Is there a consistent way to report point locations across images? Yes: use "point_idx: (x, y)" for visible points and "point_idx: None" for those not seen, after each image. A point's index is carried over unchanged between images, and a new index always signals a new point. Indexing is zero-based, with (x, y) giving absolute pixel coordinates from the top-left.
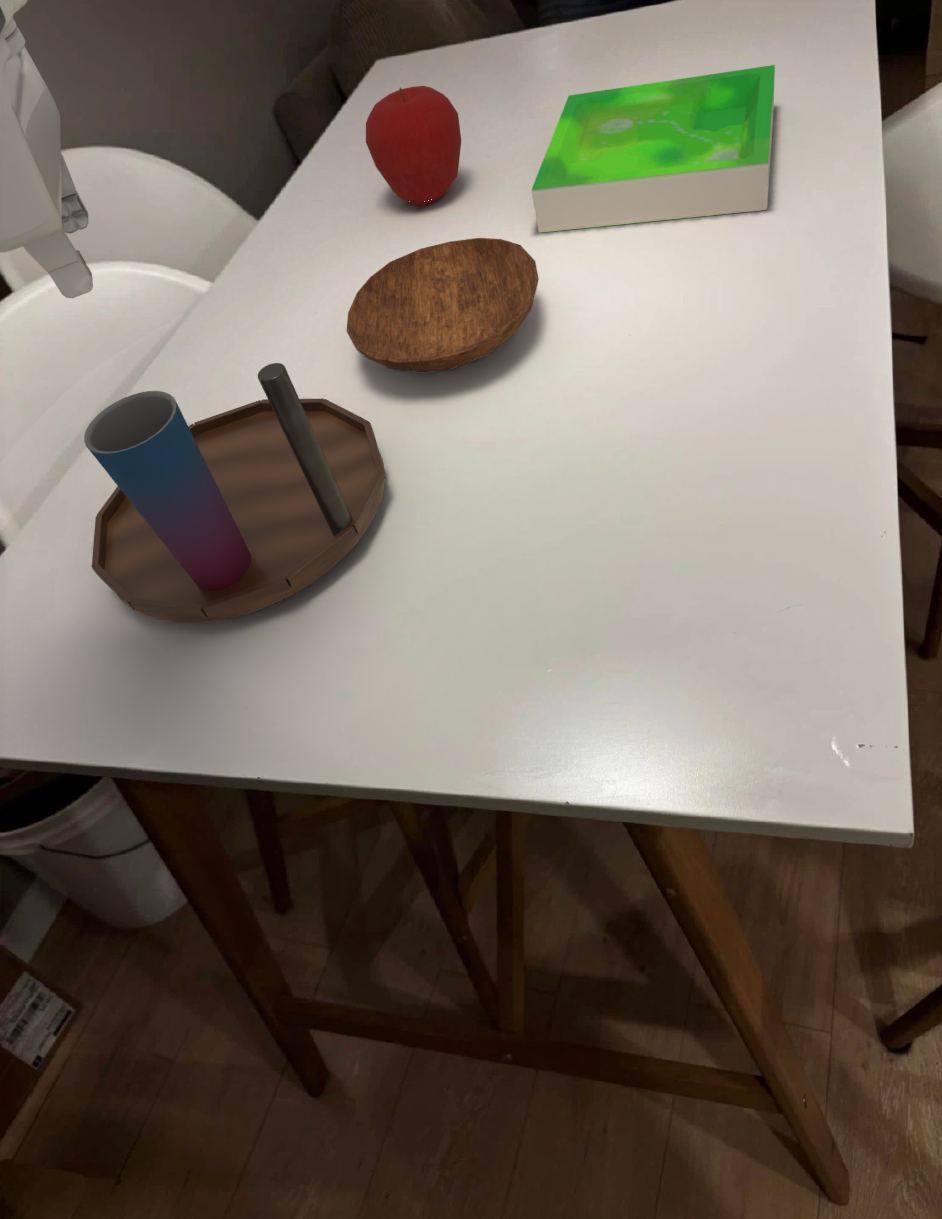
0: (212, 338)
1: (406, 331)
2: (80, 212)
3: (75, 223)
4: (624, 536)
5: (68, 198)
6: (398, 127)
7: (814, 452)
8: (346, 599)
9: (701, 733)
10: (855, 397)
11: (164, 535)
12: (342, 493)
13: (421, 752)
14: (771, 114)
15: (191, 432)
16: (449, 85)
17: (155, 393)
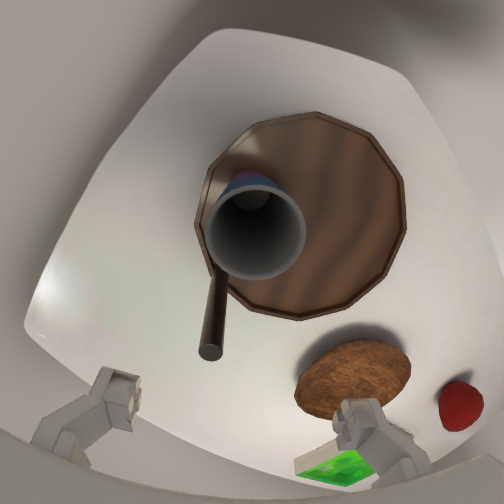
0: (478, 265)
1: (372, 356)
2: (339, 432)
3: (341, 415)
4: (147, 354)
5: (354, 444)
6: (461, 414)
7: (152, 409)
8: (189, 241)
9: (54, 315)
10: (170, 428)
11: (232, 180)
12: (256, 281)
13: (79, 231)
14: (321, 481)
15: (401, 225)
16: (488, 407)
17: (284, 267)
